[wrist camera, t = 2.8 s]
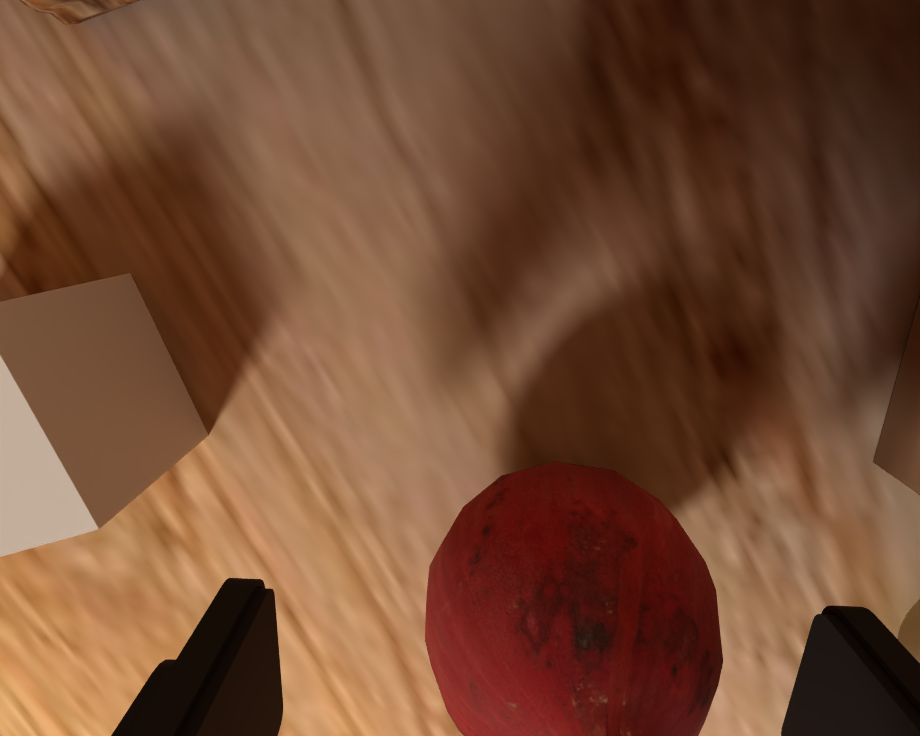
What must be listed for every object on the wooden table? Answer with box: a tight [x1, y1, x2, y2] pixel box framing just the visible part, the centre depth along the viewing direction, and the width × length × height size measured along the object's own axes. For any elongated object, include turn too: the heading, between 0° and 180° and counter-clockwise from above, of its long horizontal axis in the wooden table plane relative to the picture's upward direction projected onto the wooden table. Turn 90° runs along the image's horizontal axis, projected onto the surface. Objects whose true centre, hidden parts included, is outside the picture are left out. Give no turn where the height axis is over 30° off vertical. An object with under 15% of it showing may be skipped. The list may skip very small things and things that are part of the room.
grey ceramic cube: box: [0, 273, 208, 557], centre depth 13 cm, size 4×4×4 cm
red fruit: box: [425, 462, 723, 736], centre depth 11 cm, size 6×6×8 cm
